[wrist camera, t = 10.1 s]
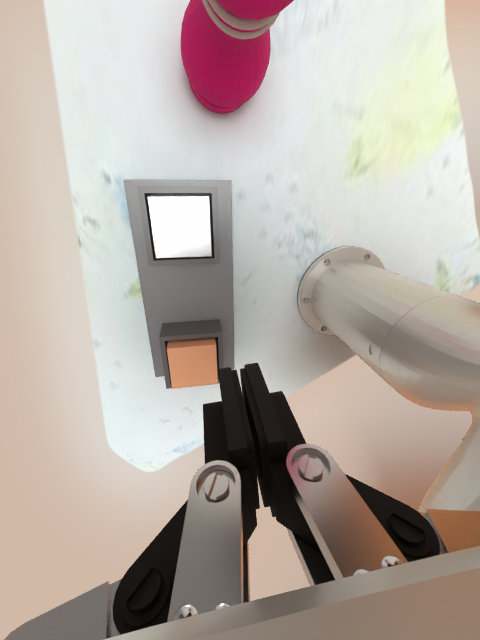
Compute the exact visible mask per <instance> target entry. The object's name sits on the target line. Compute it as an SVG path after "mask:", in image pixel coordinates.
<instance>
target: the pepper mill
mask: <svg viewBox="0 0 480 640" xmlns="http://www.w3.org/2000/svg"><path fill="white" fill-rule="evenodd" d="M291 2H293V0H190V2H189V4H188V7H187V9H186V11H185V14H184V18H183V22H182V30H181V55H182V60H183V65H184V67H185V70H186V73H187V76H188V78H189V82H190V85H191V88H192V90H193V92H194V94H195V96H196V97H197V99H198V100H199V101H200V102H201V103H202V104H203V105H204V106H205V107H206V108H208V109H209V110H211V111H214V112H217V113H229V112H232V111H234V110H236V109H237V108H239V107H240V106H241V105H242V104H243V103H244V102H246V101H247V100H249V99H250V98H251V97H252V96H253V95H254V94H255V93H256V91H257V90H258V89H259V87H260V85H261V83H262V81H263V79H264V76H265V73H266V70H267V67H268V64H269V57H270V30H269V28H270V27H271V26H272V24H273V23H274V22H275V20H276V19H277V17H278V15H279V13H280V11H282V10H283V9H284V8H285V7H286V6H288V5H289V4H290V3H291Z"/></svg>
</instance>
